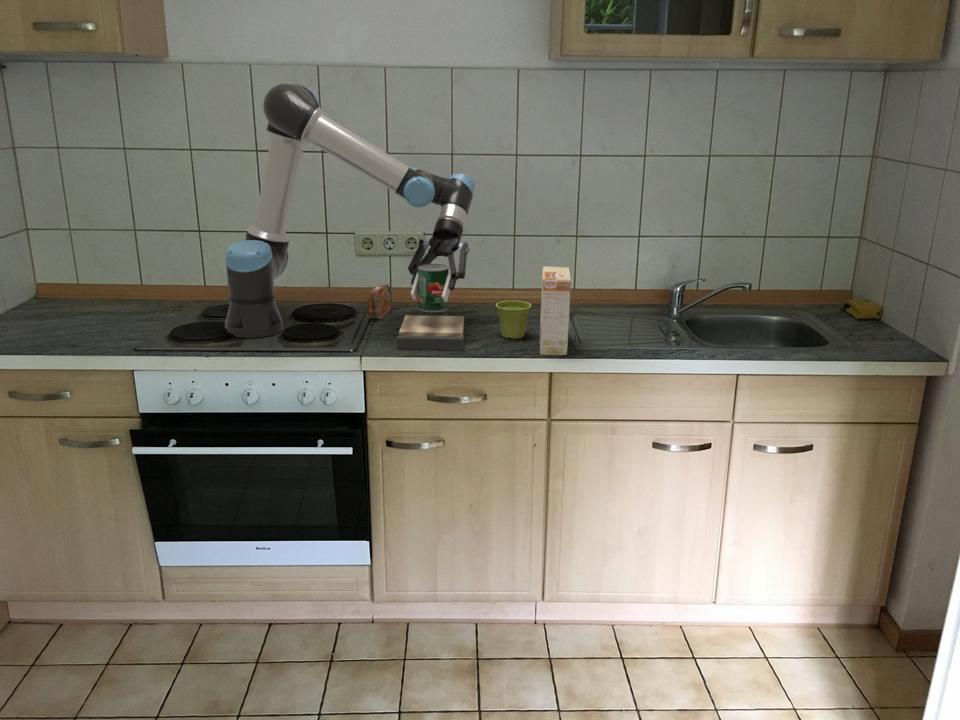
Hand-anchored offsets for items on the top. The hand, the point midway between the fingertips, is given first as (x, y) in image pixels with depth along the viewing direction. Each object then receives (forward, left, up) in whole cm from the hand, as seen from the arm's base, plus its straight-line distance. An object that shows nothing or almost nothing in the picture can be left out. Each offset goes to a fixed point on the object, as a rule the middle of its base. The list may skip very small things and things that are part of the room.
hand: (428, 297), depth 200 cm
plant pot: (+2, +23, -12) cm, 26 cm away
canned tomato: (-3, +2, -4) cm, 5 cm away
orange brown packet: (-30, -5, -12) cm, 32 cm away
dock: (-3, +2, -12) cm, 12 cm away
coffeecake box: (+14, +29, -12) cm, 34 cm away
